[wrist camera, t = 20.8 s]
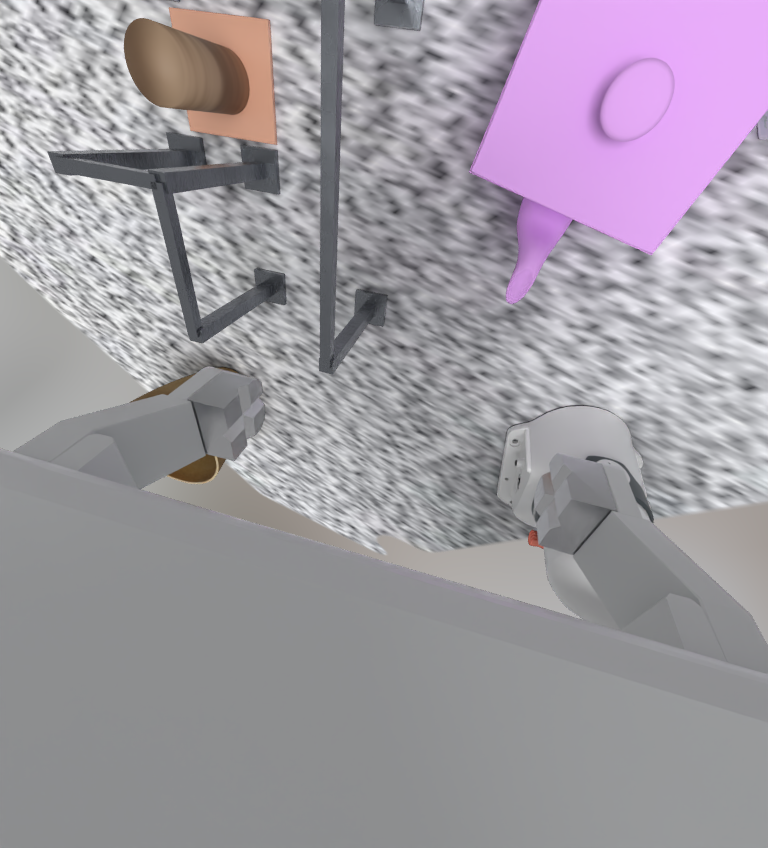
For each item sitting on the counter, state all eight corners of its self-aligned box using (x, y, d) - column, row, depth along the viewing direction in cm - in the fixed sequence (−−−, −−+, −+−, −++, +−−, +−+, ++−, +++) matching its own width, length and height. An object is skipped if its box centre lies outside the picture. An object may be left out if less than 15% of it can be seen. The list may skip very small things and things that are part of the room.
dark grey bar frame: (383, 325, 48) (343, 389, 35) (201, 285, 51) (104, 331, 38) (429, -44, 28) (375, -193, 16) (127, -73, 31) (-120, -217, 19)
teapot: (444, 238, 40) (426, 274, 30) (604, -144, 24) (690, -373, 13) (567, 293, 41) (592, 348, 30) (804, -47, 24) (1044, -194, 14)
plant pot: (181, 384, 64) (107, 441, 52) (208, 328, 55) (127, 381, 43) (251, 434, 68) (197, 498, 56) (287, 390, 59) (233, 454, 47)
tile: (277, 144, 39) (275, 144, 38) (192, 130, 40) (190, 130, 39) (269, 20, 33) (267, 19, 32) (171, 8, 34) (168, 7, 34)
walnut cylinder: (246, 49, 34) (174, 21, 26) (252, 117, 37) (190, 111, 30) (198, 43, 35) (114, 14, 27) (208, 111, 38) (136, 103, 30)
